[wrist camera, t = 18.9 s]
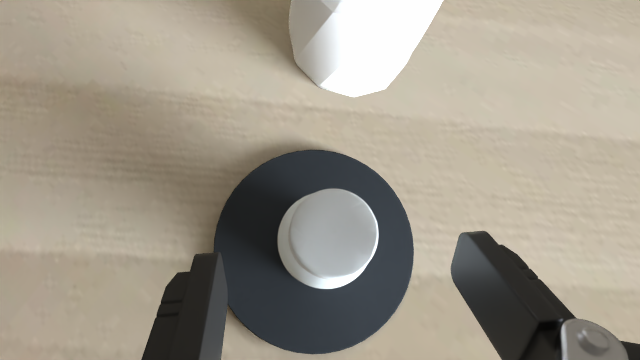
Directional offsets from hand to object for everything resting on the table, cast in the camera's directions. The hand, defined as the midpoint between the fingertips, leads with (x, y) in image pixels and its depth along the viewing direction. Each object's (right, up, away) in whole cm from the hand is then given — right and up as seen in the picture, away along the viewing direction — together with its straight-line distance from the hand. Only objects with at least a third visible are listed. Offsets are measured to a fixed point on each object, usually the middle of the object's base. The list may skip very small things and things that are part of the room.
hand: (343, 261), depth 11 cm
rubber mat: (-1, -1, +9) cm, 9 cm away
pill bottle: (-1, -1, +9) cm, 9 cm away
